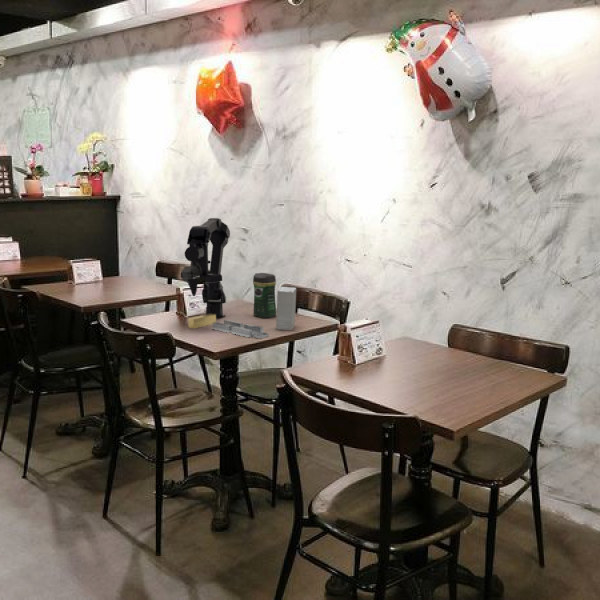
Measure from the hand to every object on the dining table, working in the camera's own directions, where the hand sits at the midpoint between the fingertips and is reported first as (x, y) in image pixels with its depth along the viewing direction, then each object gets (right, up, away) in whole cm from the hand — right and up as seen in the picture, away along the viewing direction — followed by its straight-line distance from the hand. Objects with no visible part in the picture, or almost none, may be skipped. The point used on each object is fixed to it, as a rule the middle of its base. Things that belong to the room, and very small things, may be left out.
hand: (201, 297), depth 261 cm
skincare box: (+34, -12, -1) cm, 36 cm away
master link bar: (0, -12, +2) cm, 12 cm away
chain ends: (+17, -13, -9) cm, 23 cm away
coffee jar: (+24, -8, +20) cm, 32 cm away
